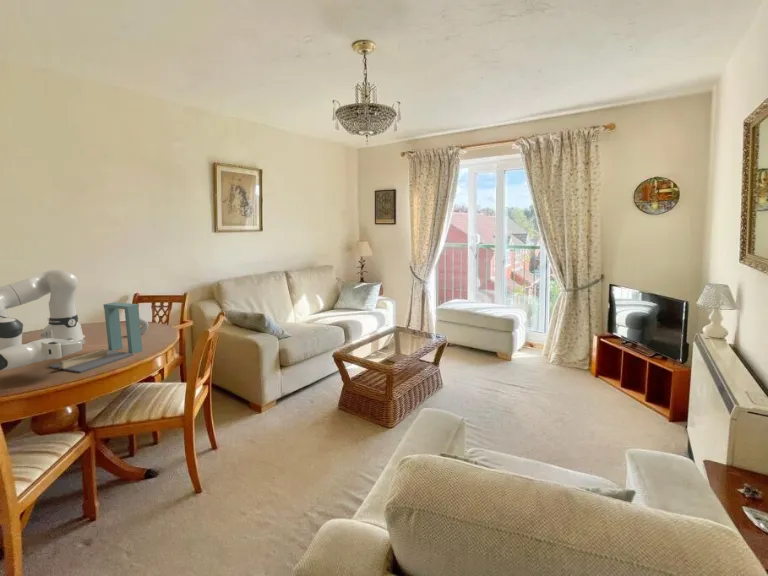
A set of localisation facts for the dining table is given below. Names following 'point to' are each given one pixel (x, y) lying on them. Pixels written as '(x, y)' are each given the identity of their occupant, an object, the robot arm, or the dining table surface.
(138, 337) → the teal arch
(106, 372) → the dining table surface
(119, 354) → the mat
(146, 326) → the donut
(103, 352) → the stick
